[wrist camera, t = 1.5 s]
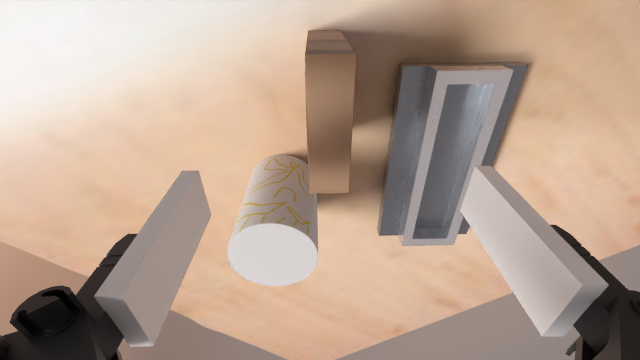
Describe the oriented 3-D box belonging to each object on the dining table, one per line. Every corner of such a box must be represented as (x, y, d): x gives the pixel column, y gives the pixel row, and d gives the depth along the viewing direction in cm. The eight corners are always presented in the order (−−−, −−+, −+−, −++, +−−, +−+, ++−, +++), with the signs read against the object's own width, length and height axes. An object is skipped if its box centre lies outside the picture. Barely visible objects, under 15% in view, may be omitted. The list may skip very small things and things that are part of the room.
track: (400, 63, 29) (409, 71, 26) (520, 62, 29) (541, 69, 26) (377, 229, 41) (382, 246, 38) (462, 227, 41) (472, 244, 38)
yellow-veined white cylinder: (318, 156, 34) (320, 225, 24) (314, 210, 39) (315, 287, 29) (248, 153, 34) (221, 221, 24) (253, 207, 38) (231, 285, 28)
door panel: (307, 30, 27) (303, 54, 17) (341, 30, 27) (358, 53, 17) (309, 130, 32) (308, 193, 22) (338, 130, 32) (349, 192, 22)
